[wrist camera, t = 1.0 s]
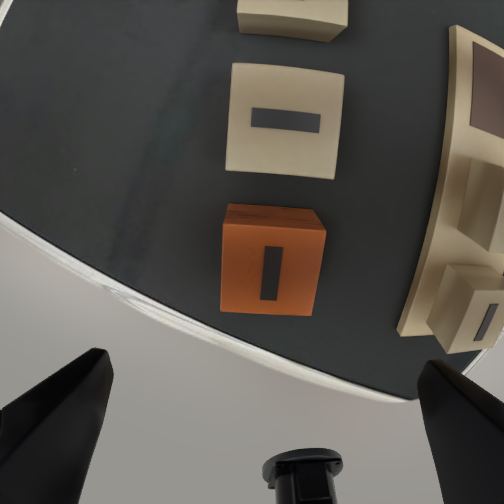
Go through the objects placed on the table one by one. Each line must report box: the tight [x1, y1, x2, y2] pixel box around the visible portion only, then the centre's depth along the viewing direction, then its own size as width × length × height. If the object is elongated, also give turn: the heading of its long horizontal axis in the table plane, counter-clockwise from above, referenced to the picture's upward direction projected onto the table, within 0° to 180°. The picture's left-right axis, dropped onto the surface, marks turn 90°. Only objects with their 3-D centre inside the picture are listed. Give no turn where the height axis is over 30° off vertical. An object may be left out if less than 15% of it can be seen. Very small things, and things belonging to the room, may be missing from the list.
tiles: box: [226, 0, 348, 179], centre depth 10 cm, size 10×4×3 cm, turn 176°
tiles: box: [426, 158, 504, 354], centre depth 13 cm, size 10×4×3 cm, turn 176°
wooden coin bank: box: [220, 203, 326, 316], centre depth 14 cm, size 4×4×3 cm
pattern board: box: [397, 25, 504, 336], centre depth 14 cm, size 18×7×1 cm, turn 176°
